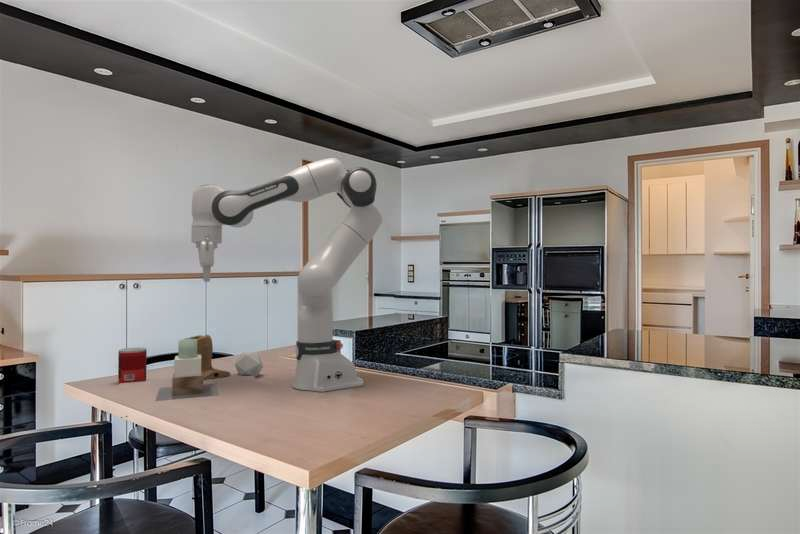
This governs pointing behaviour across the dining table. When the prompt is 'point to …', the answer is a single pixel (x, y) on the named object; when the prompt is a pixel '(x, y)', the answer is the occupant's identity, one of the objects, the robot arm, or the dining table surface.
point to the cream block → (187, 367)
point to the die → (249, 364)
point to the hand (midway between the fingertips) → (206, 281)
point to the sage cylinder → (187, 348)
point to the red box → (132, 365)
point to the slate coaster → (167, 395)
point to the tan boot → (207, 358)
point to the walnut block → (187, 385)
